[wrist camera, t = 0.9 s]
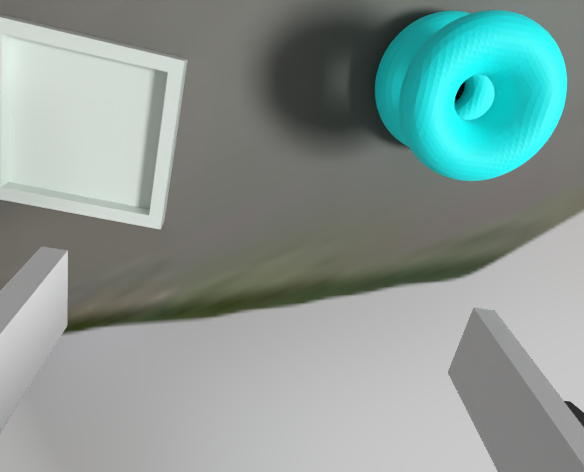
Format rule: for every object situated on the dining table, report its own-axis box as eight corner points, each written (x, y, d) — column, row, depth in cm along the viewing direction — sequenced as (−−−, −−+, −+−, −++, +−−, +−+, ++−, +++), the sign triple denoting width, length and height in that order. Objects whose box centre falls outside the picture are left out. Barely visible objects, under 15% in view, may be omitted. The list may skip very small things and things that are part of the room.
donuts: (430, -4, 26) (604, 25, 27) (387, 0, 35) (518, 22, 37) (389, 176, 30) (542, 195, 31) (359, 138, 39) (479, 154, 40)
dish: (-2, 13, 34) (-15, 13, 33) (187, 58, 36) (184, 60, 35) (-2, 189, 39) (-14, 196, 38) (164, 220, 41) (160, 229, 40)
